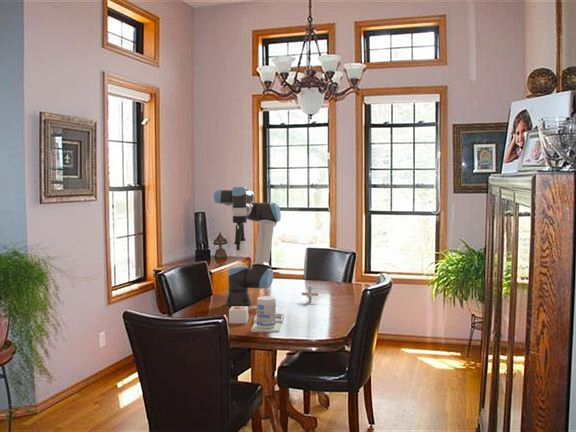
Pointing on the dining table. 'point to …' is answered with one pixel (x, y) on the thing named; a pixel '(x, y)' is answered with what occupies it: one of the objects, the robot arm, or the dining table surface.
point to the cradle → (276, 317)
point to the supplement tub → (266, 312)
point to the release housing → (238, 314)
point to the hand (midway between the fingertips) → (240, 254)
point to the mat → (274, 329)
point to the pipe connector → (310, 294)
